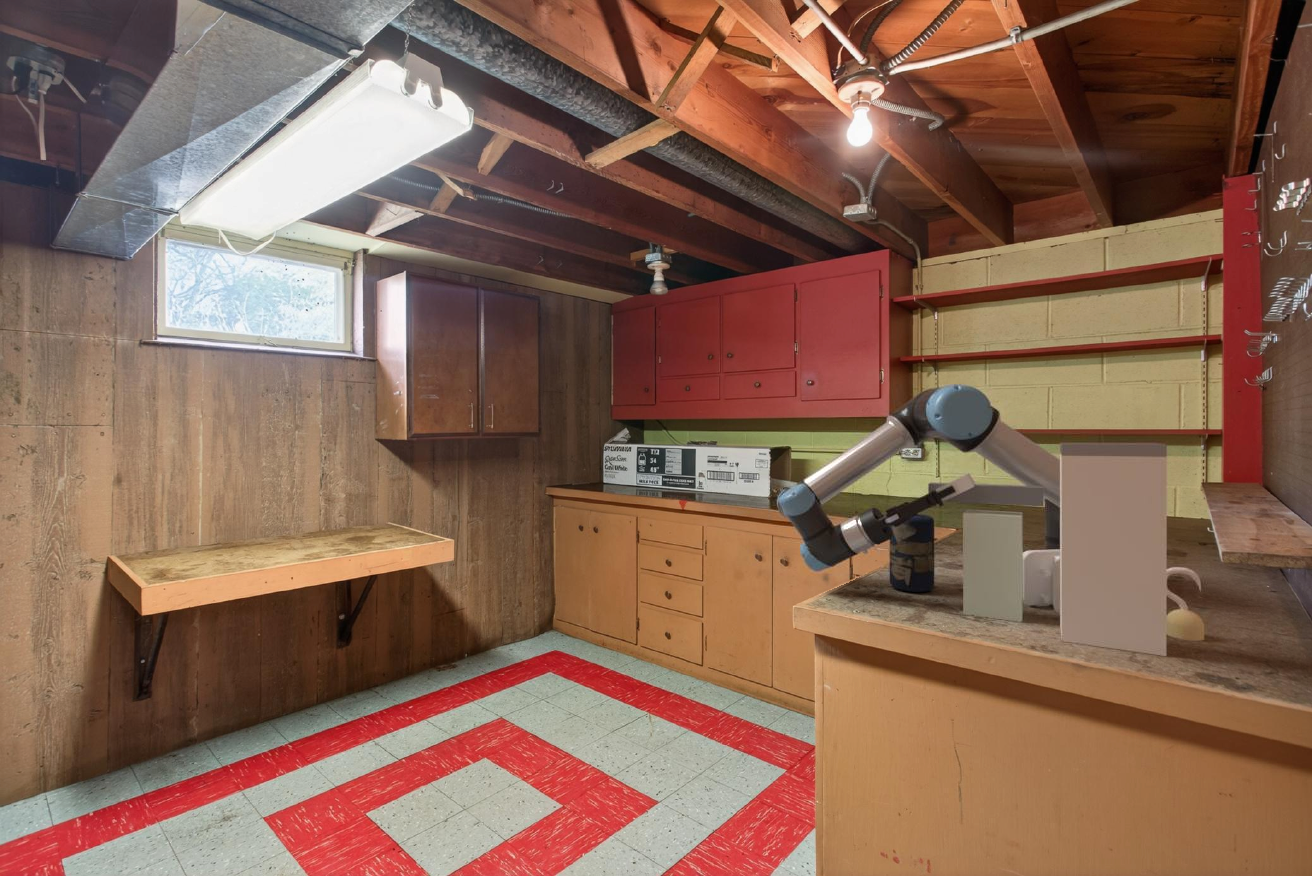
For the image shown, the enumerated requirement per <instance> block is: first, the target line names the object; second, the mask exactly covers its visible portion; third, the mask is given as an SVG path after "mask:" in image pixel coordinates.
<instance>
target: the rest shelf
mask: <svg viewBox="0 0 1312 876" xmlns="http://www.w3.org/2000/svg"><path fill="white" fill-rule="evenodd" d="M1023 514H1024V513H1023V512H1022V511H1021V512H1020V511H1002V510H985V509H968V508H967V509H965V511H964V512H963V513H962V578H963V579H962V584H963V585H962V587H963V588H962V591H963V592H962V593H963V594H962V595H963V599H962V606H963V607H962V608H963V609H962V612H963V613H962V614H963V616H965V615H967V616H971V615H974V617H979V618H986V617H988V618H989V619H994V620H1001V619H1002V620H1003V621H1008V622H1009V621H1010V622H1016V621H1017V622H1019V623H1023V614H1024V601H1023V552H1024V551H1023V550H1024V549H1023V545H1024V544H1023V541H1024V540H1023V538H1024V537H1023V536H1024V534H1023V532H1024V529H1023V528H1024V527H1023V525H1024V522H1023V520H1024V517H1023Z"/></svg>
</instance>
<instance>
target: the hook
mask: <svg viewBox="0 0 1312 876" xmlns="http://www.w3.org/2000/svg"><path fill="white" fill-rule="evenodd" d="M1173 574H1185V575H1187V576H1189V577H1190V578H1191V579H1192V580H1193V581H1194V582H1195V583H1196V585H1197V586H1198V589H1199V591H1200V592H1202V584H1201V583H1202V582H1201V580H1200V576H1199V575H1198V574H1197V573H1196V572H1195V571H1194V570H1192V569H1190V568H1187V567H1182V566H1181V567H1179V566H1177V567H1170V568H1167V579H1168V578H1169V577H1170V576H1171V575H1173ZM1166 598H1168V599H1170V600H1171V601H1174V602H1175V603H1176V604H1177V605H1178V606H1179V608H1178V609H1173V610H1172V611H1170V612H1169V613H1168V614H1166V636H1169V637H1171V638H1175V639H1180V640H1185V641H1192V642H1193V641H1194V642H1199V641H1204V640H1205V624H1204V621H1203V620H1202V618H1201V617H1200V616H1199V615H1198V614H1197V613H1195V612H1193V611H1191V610H1190V609H1189V606H1188V605H1187V603H1186V601H1185V600H1184V599H1183V598H1181V596H1179V595H1177V594H1175V593H1173V592H1172V591H1170V589H1169V588H1168V580H1167V581H1166Z"/></svg>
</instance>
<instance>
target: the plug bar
mask: <svg viewBox="0 0 1312 876" xmlns="http://www.w3.org/2000/svg"><path fill="white" fill-rule="evenodd" d="M948 483H949V482H933V481H932V482H931V481H930V482H929V483H928V484H927V485H928V489H927V490H928V493H931V492H932V491H936V489H938V488H940V487H942V486H944V485H946V484H948ZM973 485H974V487H973V488H971V489H968V490H966V491H964V492H962V493H960V494H958V495H956V496H954V497H952V498H950V499H947V500H945V501H942V499H941V501H942V502H943V503H944V502H945V503H964V504H965V503H966V504H984V505H985V504H989V505H1002V506H1003V505H1005V506H1007V505H1009V506H1022V507H1023V506H1027V507H1044V508H1045V501H1044V487H1043V486H1026V485H1017V484H1016V485H1015V484H1014V485H1011V484H1010V485H1009V484H987V483H986V484H985V483H984V484H983V483H976V484H973ZM928 493H927V494H928ZM936 493H937V491H936Z"/></svg>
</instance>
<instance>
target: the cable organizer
mask: <svg viewBox="0 0 1312 876" xmlns="http://www.w3.org/2000/svg"><path fill="white" fill-rule="evenodd" d="M1023 603H1028V604H1029V605H1032V606H1034V607H1049V606H1051V605H1052V606H1053V610H1054V611H1055V613H1057V614H1059V615H1060V549H1055V550H1043V549H1034V550H1033V549H1032V550H1031V549H1029V550H1026V551H1023Z"/></svg>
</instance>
